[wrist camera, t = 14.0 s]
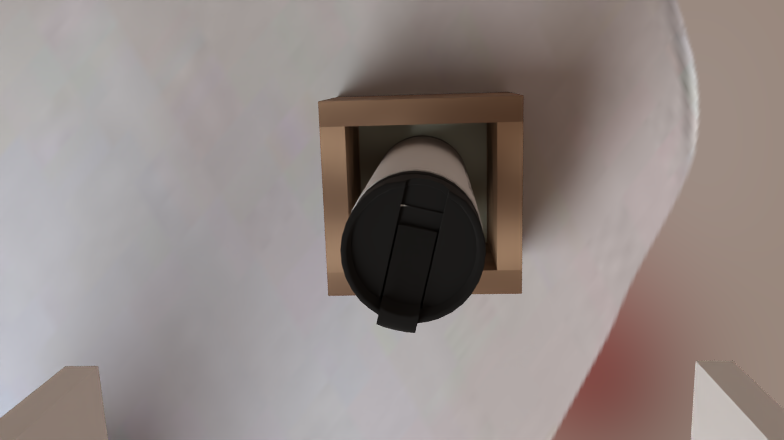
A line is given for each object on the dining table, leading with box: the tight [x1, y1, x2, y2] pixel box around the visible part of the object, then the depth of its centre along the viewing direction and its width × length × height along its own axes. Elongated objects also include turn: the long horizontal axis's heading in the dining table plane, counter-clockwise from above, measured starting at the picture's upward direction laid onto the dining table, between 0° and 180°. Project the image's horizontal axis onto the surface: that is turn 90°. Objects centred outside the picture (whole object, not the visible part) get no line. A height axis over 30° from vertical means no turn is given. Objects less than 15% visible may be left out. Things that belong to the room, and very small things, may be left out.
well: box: [318, 92, 524, 296], centre depth 45 cm, size 12×12×8 cm
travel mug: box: [340, 135, 486, 333], centre depth 38 cm, size 6×7×20 cm
